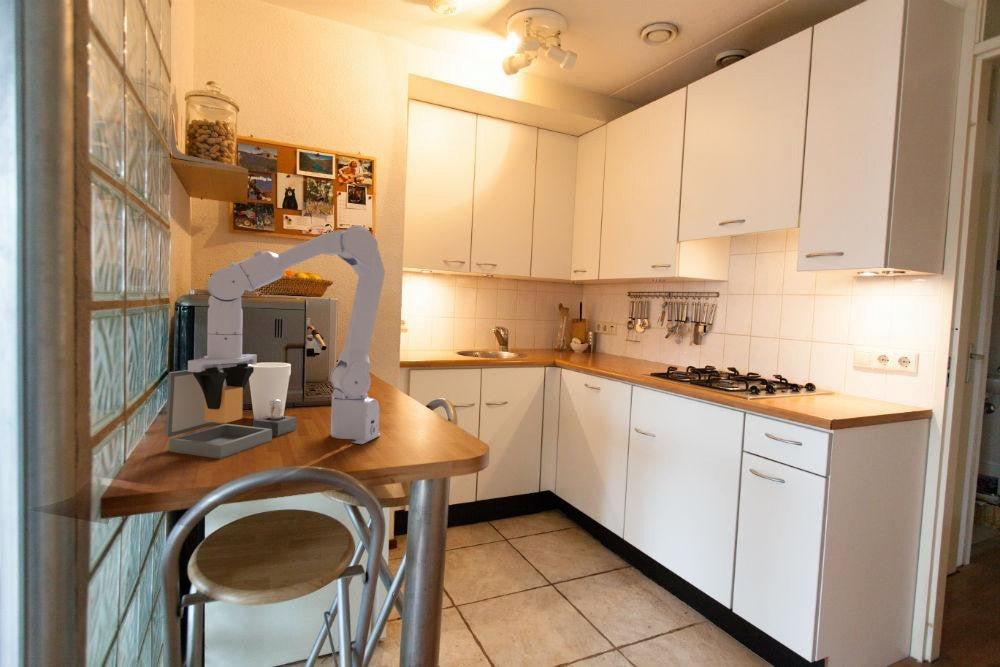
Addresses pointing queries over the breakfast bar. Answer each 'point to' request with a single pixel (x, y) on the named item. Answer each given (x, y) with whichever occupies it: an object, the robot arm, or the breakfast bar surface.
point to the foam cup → (268, 386)
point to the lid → (185, 404)
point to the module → (227, 406)
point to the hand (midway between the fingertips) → (224, 406)
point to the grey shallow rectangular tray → (220, 440)
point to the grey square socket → (277, 424)
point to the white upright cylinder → (275, 409)
